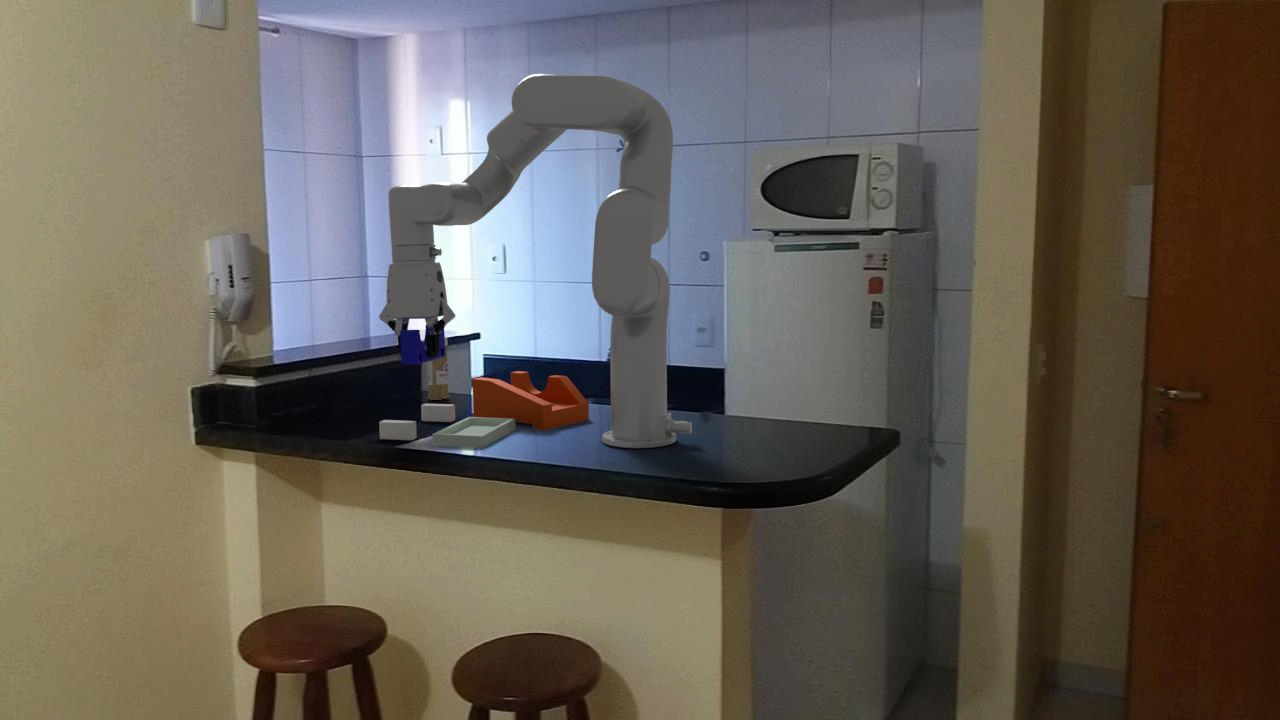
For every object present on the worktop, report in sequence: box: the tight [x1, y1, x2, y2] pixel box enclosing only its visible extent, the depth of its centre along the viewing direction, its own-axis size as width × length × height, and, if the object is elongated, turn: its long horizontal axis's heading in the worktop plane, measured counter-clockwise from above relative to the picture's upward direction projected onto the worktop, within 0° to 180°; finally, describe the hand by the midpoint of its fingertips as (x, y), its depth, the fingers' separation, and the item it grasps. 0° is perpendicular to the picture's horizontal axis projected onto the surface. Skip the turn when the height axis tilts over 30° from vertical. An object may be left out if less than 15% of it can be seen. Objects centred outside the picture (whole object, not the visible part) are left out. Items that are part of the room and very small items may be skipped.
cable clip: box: [400, 324, 446, 366], centre depth 192 cm, size 12×4×6 cm, turn 167°
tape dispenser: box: [471, 370, 590, 432], centre depth 202 cm, size 18×13×8 cm
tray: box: [431, 416, 516, 449], centre depth 186 cm, size 9×16×2 cm, turn 167°
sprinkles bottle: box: [426, 335, 450, 401], centre depth 225 cm, size 5×5×13 cm
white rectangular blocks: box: [378, 403, 456, 441], centre depth 194 cm, size 6×19×3 cm, turn 167°
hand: (419, 355), depth 192 cm, fingers closed on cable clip, 4 cm apart
